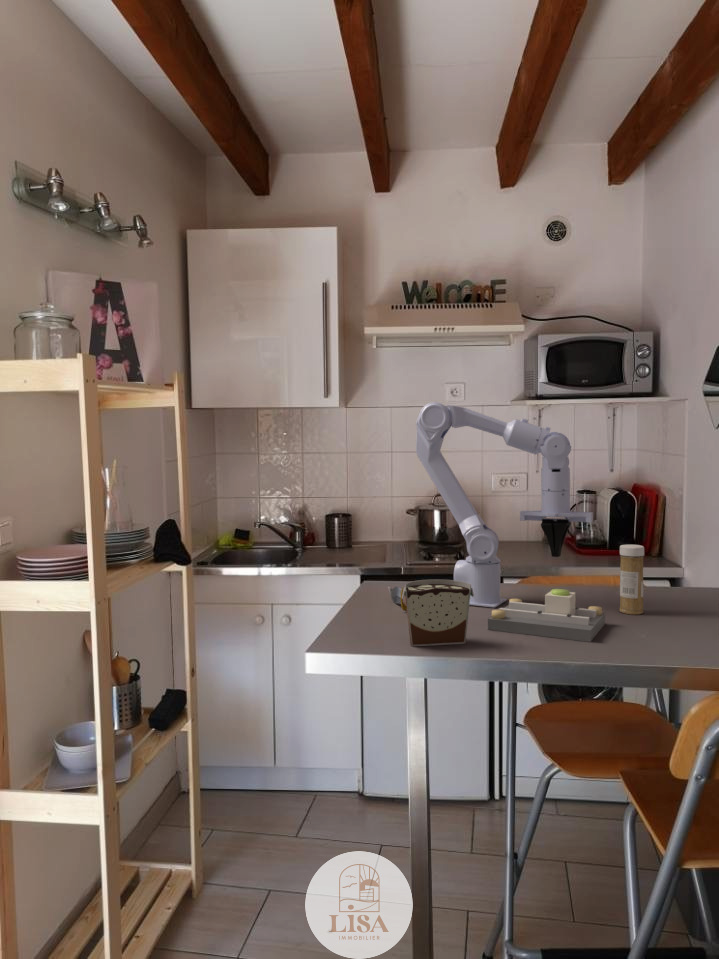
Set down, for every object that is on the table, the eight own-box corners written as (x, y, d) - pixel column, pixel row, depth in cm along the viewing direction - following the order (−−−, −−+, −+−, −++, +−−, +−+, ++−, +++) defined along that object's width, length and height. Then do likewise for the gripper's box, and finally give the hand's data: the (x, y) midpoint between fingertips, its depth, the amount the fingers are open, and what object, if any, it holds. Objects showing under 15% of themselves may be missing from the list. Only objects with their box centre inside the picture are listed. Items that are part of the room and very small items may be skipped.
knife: (385, 597, 158) (385, 575, 157) (391, 597, 158) (391, 574, 158) (413, 624, 133) (413, 598, 133) (421, 624, 134) (421, 597, 133)
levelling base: (487, 629, 129) (487, 611, 129) (510, 613, 142) (510, 596, 142) (590, 642, 121) (590, 622, 121) (604, 623, 133) (605, 605, 133)
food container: (462, 633, 127) (462, 577, 126) (473, 643, 121) (474, 584, 120) (394, 637, 125) (394, 580, 124) (402, 646, 118) (402, 587, 118)
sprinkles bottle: (648, 613, 142) (649, 545, 141) (634, 616, 139) (634, 547, 138) (628, 609, 145) (629, 543, 145) (614, 611, 143) (614, 545, 142)
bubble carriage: (544, 617, 129) (545, 591, 129) (551, 611, 133) (551, 587, 133) (569, 619, 127) (569, 594, 127) (575, 614, 131) (575, 589, 131)
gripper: (515, 491, 147) (516, 556, 148) (588, 492, 140) (588, 560, 141) (524, 489, 154) (525, 552, 154) (594, 490, 147) (595, 555, 147)
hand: (556, 556), depth 148 cm, fingers closed
